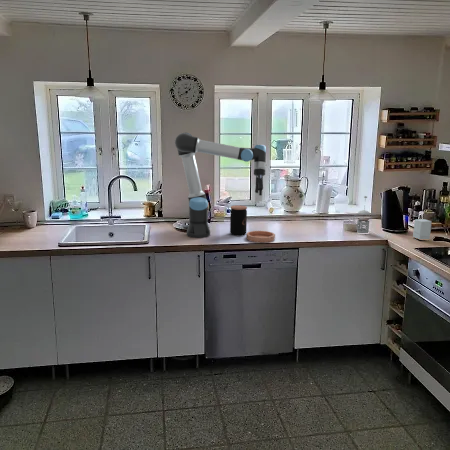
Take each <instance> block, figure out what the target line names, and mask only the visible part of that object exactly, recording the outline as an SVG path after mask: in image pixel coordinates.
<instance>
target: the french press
mask: <svg viewBox="0 0 450 450" xmlns="http://www.w3.org/2000/svg"><path fill="white" fill-rule="evenodd" d="M363 198H364V201H366V199H367V198H368V196H366V195H364V196H363ZM360 215H363V216H365V215H368V216H369V215H371V212H370V211H368V210H366V206H364V209H362V210H359V211H358V212H357V214H354V216H353V218H352V220H353V222H356V223H357V224H356V228H357V227H358V228H357V229H358V230H357V232H358V233H368V232H369V231H370V230H369V229H370V219H369V218H367V217H359V216H360ZM356 216H357V218H358V220H357V221H356V220H355V217H356ZM358 225H359V226H358ZM369 233H370V232H369Z"/></svg>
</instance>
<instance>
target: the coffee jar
mask: <svg viewBox="0 0 450 450" xmlns="http://www.w3.org/2000/svg"><path fill="white" fill-rule="evenodd" d="M247 218H248V207H247V206H246V205H231V206H230V221H229V233H230V234H231V236H237V237H238V236H239V237H241V236H242V237H243V236H245V235H246V234H247V223H248V222H247V221H248V219H247Z"/></svg>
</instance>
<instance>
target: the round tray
mask: <svg viewBox="0 0 450 450" xmlns="http://www.w3.org/2000/svg"><path fill="white" fill-rule="evenodd" d="M245 235H246V236H245V238H246V240H248V241H250V242H254V243H271V242H274V241H275V239H276V233H274V232H272V231H269V230H251V231H248V232H246V234H245Z"/></svg>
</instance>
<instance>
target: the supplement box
mask: <svg viewBox="0 0 450 450" xmlns="http://www.w3.org/2000/svg"><path fill="white" fill-rule="evenodd" d="M432 221H433V220H428V219H425V218H422V219H421V218H418V219H417V218H416V219H414V224H413V234H412V238H413V237H415V238H418V239H430V238H431V230H432ZM430 240H431V239H430Z"/></svg>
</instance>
